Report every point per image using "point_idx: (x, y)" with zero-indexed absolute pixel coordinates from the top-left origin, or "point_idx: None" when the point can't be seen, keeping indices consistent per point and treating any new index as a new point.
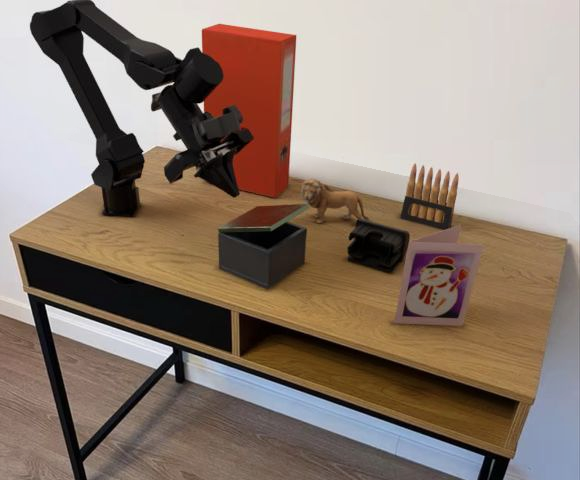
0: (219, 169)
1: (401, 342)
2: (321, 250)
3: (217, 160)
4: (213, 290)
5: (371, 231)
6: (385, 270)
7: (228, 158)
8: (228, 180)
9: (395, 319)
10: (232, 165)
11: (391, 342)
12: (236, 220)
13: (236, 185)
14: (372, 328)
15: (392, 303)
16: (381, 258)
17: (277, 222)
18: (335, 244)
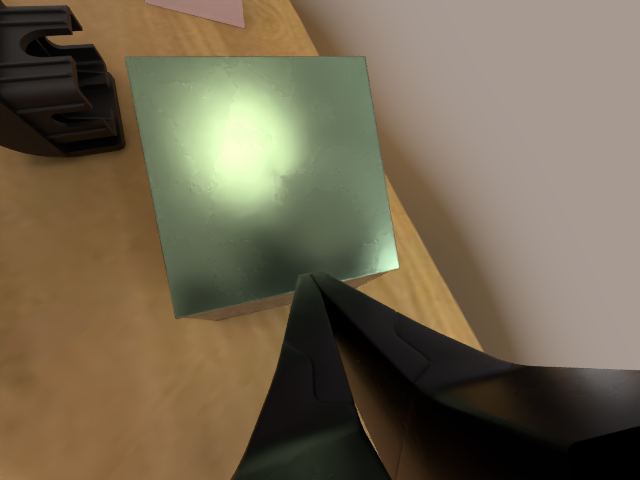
0: (474, 368)
1: (272, 12)
2: (121, 207)
3: (635, 387)
4: (403, 235)
5: (30, 56)
6: (113, 81)
7: (350, 475)
8: (367, 306)
9: (243, 20)
10: (266, 420)
11: (281, 18)
12: (333, 257)
13: (302, 295)
14: (276, 41)
15: (201, 45)
16: (86, 82)
17: (329, 56)
18: (67, 204)
